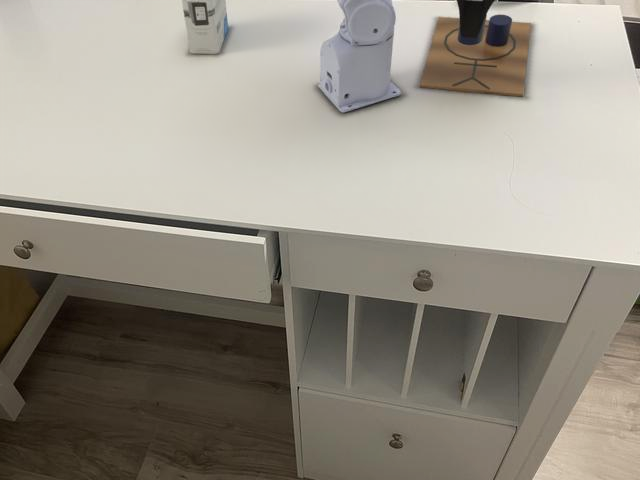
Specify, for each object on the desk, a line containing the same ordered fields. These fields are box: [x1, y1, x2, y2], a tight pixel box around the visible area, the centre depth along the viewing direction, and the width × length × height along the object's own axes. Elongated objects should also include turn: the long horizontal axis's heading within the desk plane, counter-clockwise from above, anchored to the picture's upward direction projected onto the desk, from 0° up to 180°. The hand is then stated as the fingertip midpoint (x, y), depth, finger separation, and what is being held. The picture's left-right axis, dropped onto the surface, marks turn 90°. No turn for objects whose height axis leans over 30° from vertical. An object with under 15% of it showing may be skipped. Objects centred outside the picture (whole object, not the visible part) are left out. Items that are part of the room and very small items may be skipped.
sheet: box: [419, 16, 532, 98], centre depth 99 cm, size 20×14×1 cm
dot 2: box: [485, 14, 513, 47], centre depth 99 cm, size 3×3×3 cm
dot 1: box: [457, 13, 488, 45], centre depth 88 cm, size 3×3×3 cm
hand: (470, 29), depth 88 cm, fingers closed on dot 1, 3 cm apart
